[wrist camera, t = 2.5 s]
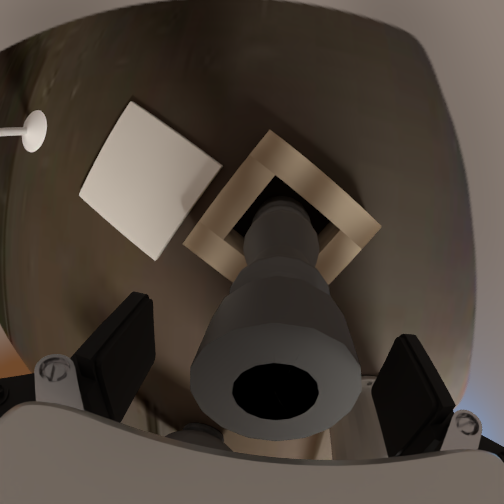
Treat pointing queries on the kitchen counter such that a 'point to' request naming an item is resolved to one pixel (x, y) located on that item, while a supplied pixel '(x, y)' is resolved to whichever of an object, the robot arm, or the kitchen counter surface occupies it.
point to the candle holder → (277, 338)
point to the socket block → (305, 184)
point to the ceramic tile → (147, 179)
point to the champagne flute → (30, 131)
